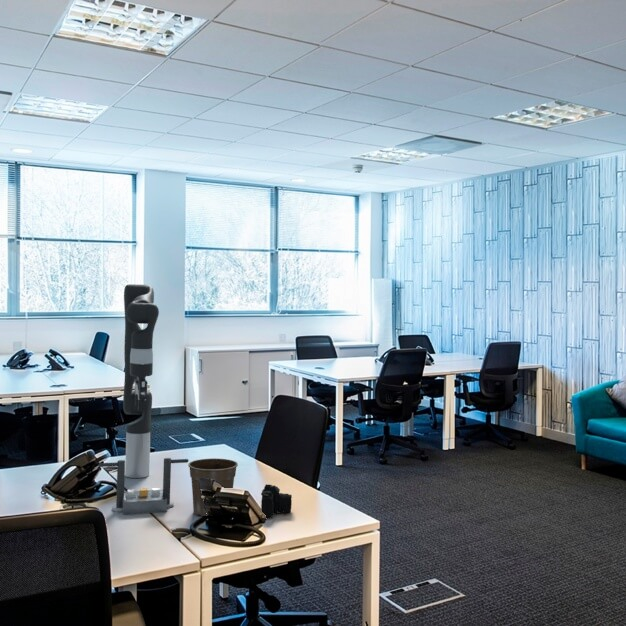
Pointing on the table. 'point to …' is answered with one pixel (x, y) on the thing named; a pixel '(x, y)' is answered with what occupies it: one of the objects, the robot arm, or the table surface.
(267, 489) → the film camera
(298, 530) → the table surface
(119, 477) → the cable post
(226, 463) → the plant pot
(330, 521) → the table surface
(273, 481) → the table surface
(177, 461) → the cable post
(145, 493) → the orange matte cube
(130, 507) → the grey block holder
